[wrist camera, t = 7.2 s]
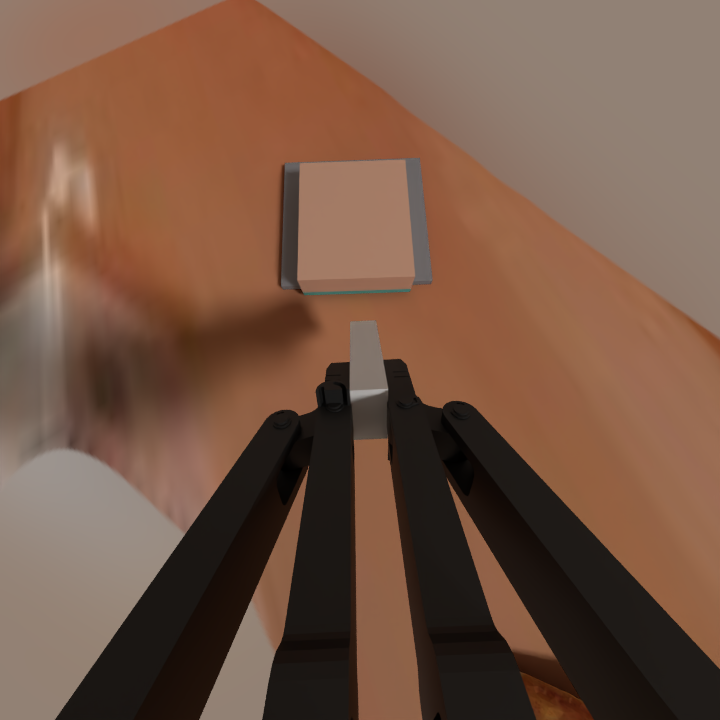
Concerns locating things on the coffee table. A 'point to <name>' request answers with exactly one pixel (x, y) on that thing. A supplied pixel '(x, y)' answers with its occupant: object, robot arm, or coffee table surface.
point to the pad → (416, 217)
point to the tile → (354, 228)
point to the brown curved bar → (553, 701)
